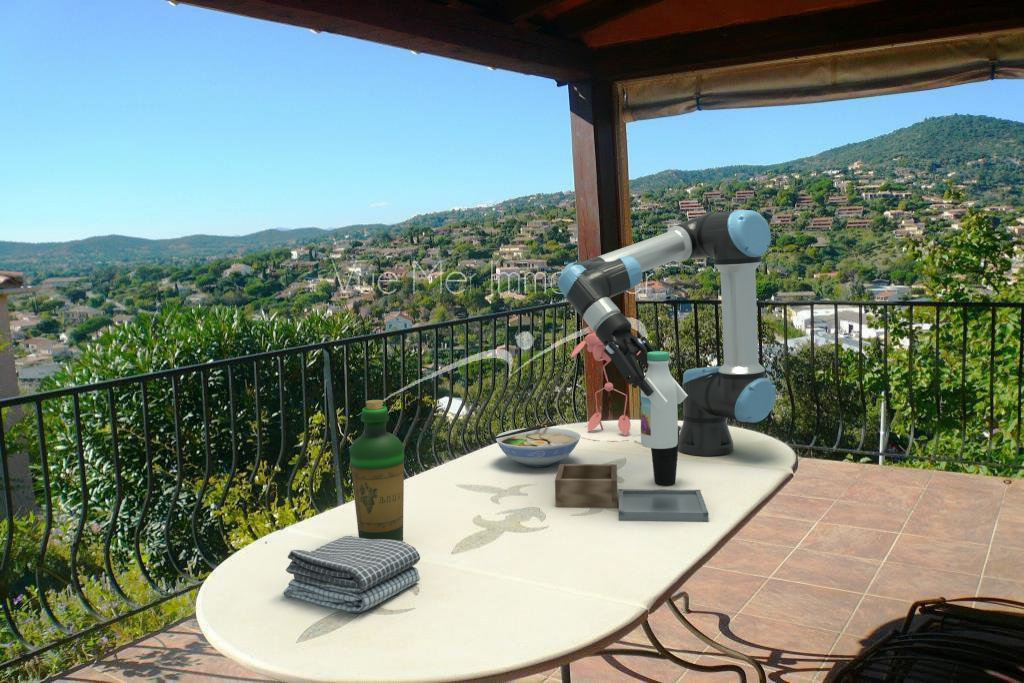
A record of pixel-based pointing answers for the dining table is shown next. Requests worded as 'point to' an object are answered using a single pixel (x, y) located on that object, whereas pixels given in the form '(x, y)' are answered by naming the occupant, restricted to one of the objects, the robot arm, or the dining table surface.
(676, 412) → the milk bottle
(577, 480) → the holder
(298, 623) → the dining table surface
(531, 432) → the ramen bowl
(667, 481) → the drinking cup
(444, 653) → the dining table surface
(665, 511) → the tray
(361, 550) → the towel
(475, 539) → the dining table surface
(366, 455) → the bottle
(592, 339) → the figurine
